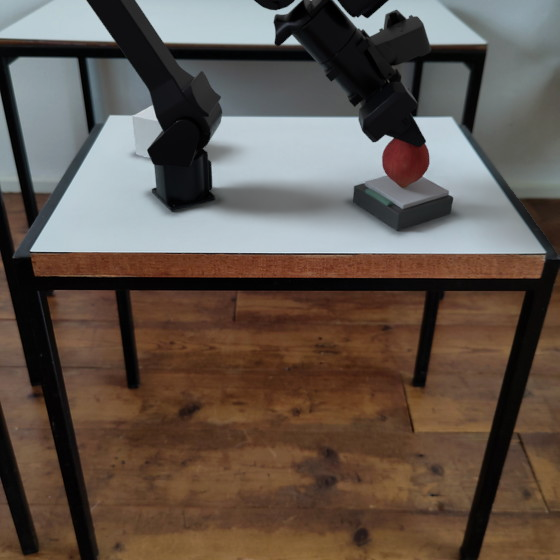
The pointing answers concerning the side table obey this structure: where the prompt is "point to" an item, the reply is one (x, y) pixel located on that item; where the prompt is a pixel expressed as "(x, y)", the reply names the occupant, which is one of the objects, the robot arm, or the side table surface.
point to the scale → (403, 201)
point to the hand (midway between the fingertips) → (419, 138)
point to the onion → (405, 162)
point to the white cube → (145, 130)
